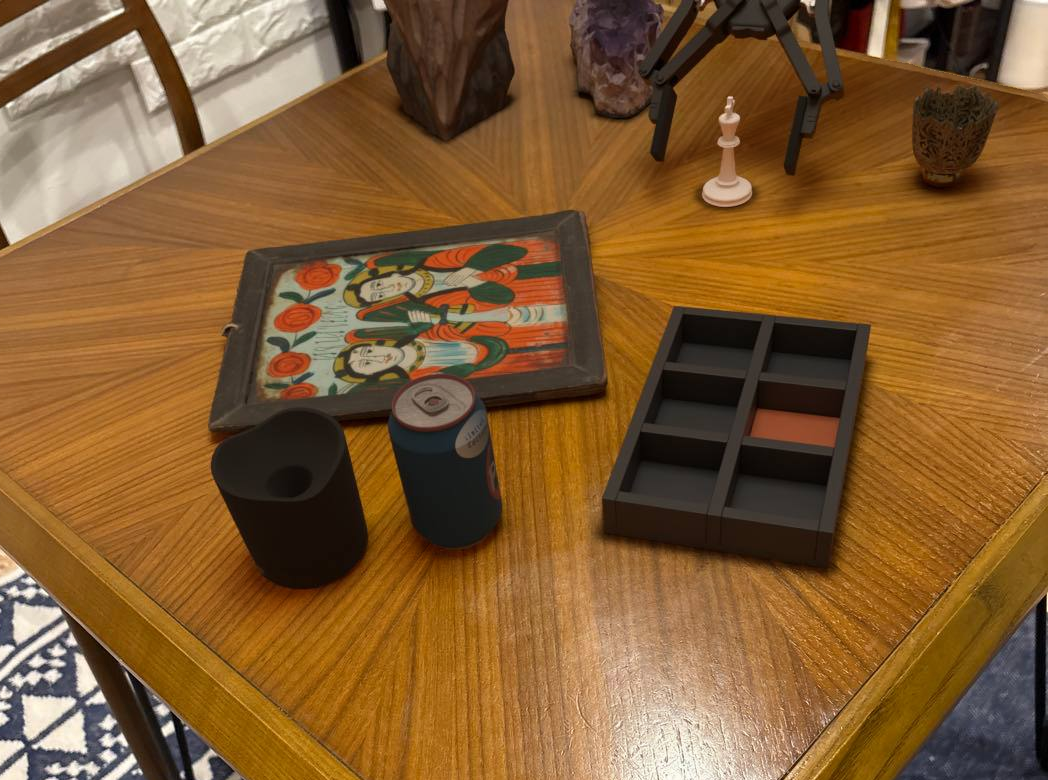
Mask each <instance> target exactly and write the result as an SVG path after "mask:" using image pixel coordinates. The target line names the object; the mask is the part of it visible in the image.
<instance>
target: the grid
mask: <svg viewBox="0 0 1048 780" xmlns="http://www.w3.org/2000/svg"><path fill="white" fill-rule="evenodd" d="M871 329H872V324H870V323H862V322H859V323H858V322H850V321H839V320H829V319H819V318H810V317H809V318H808V317H807V318H806V317H798V316H797V317H796V316H787V315H776V314H766V313H765V314H764V313H756V312H747V311H737V310H736V311H735V310H724V309H714V308H703V307H692V306H681V305H674V306H673V307H672V310H671V313H670V315H669V318H668V321H667V324H666V326H665V329H664V331H663V335H662V337H661V340H660V343H659V345H658V348H657V350H656V353H655V355H654V359H653V361H652V364H651V366H650V369H649V371H648V374H647V377H646V379H645V382H644V385H643V388H642V390H641V392H640V396H639V399H638V401H637V404H636V406H635V408H634V411H633V414H632V416H631V418H630V419H631V420H630V422H629V424H628V427H627V431H626V433H625V436H624V438H623V440H622V444H621V445H620V449H619V451H618V455H617V457H616V460H615V462H614V465H613V468H612V471H611V473H610V476H609V479H608V481H607V483H606V486H605V489H604V491H603V494H602V497H601V507H602V518H603V519H602V520H603V521H602V522H603V532H604V534H610V535H616V536H623V537H629V538H633V539H634V538H635V539H641V540H648V541H654V542H661V543H665V544H672V545H679V546H685V547H691V548H698V549H705V550H710V551H716V552H722V553H728V554H734V555H741V556H747V557H754V558H761V559H766V560H772V561H778V562H779V561H780V562H786V563H793V564H797V565H804V566H811V567H818V568H823V569H829V567H830V562H831V556H832V550H833V544H834V539H835V533H836V529H837V528H836V527H837V523H838V516H839V513H840V512H839V511H840V505H841V502H842V501H841V500H842V496H843V489H844V483H845V478H846V473H847V467H848V462H849V457H850V450H851V445H852V440H853V434H854V428H855V422H856V418H857V412H858V406H859V401H860V395H861V389H862V385H863V378H864V372H865V367H866V362H867V356H868V355H867V354H868V349H869V342H870V336H871V335H870V334H871Z"/></svg>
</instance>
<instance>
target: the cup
mask: <svg viewBox="0 0 1048 780" xmlns="http://www.w3.org/2000/svg"><path fill="white" fill-rule="evenodd" d="M991 100H992V99H991V93H990V92H989V91H988V92H986V94H985V95H983V93H982V90H981V89H979V88H978V86H976V85H972V86H970V87H968V88H965V87H964V85H961V84H958V85H957V86H956V87H955V88H954V91H953V92H945V93H943V92H942V88H941V86H940V85H939V86H937V87H936V88H935V90H934V89H933V88H931V87H929V86H928V87H926V89H925V90H924V91H923V93H922V95H921V94H920V93H918V94H917V95H916V98H915V100H913V105H912V129H911V132H912V133H911V145H912V152H913V156H914V158H915V161H916V162H917V164H918V165H919V166H920V167H921V168H923V170H922V177H923V180H924V181H925V183H927V184H928V185H929V186H931V187H935V188H950V187H953V186H954V185H955V186H956V185H957V184H958V183H959V182H960V181H961V179H962V177H963V175H964V171H966V170H968V169H969V168H970V167H972V166H973V165H974V164H975V163H976V162H977V161H978V159H980V157H981V155H982V153H983V151H984V149H985V146H986V143H987V141H988V138H989V137H990V133H991V130H992V127H993V124H994V121H995V118H996V115H997V112H998V109H999V105H1000V103H999V102H998V103H997V101H998V98H997V97H994V99H993V100H992V101H991Z"/></svg>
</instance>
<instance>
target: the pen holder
mask: <svg viewBox="0 0 1048 780" xmlns="http://www.w3.org/2000/svg"><path fill="white" fill-rule="evenodd" d="M210 473H211V475H212V479H213V481H214V482H215V485H216V487H217V489H218V491H219V493H220V496H221V497H222V500H223V501H224V503H225V506H226V508H227V510H228V512H229V515H230V516H231V518H232V520H233V522H234V524H235V526H236V529H237V531H238V533H239V535H240V537H241V539H242V541H243V543H244V545H245V547H246V549H247V551H248V552H249V555H250V557H251V558H252V561H253V562H254V564H255V566H256V568H257V570H258V571H259V574H261V575H262V577H264V578H265V579H266V580H267V581H268V582H270V583H272V584H274V585H276V586H279V587H281V588H285V589H289V590H298V591H299V590H302V591H305V590H313V589H317V588H318V589H319V588H321V587H325V586H327V585H331V584H332V583H334V582H336V581H338V580H340V579H341V578H342V579H343V577H345V576H346V575H348V574H349V573H350V572H351V571H352V570H353V569H354V568H355V567H356V566H357V565H358V564H359V563H360V561H361V560H362V557H363V556H364V554H365V553H366V550H367V547H368V544H369V543H368V541H369V534H368V527H367V521H366V516H365V511H364V507H363V504H362V499H361V494H360V491H359V486H358V483H357V478H356V474H355V470H354V466H353V462H352V458H351V454H350V450H349V446H348V441H347V437H346V434H345V430H344V428H343V427H342V425H341V423H339V421H337V420H335V419H334V418H333V417H332V416H330V415H328V414H327V413H324V412H322V411H319V410H316V409H311V408H304V407H296V408H289V409H285V410H282V411H280V412H278V413H276V414H274V415H272V416H271V417H269V418H268V419H266V420H265V421H263V422H261V423H260V424H258V425H257V426H255V427H253V428H251V429H249V430H246V431H243V432H237V433H235V434H233V435H231V436H228V437H227V438H225V439H223V440H222V441H221V442H220V443H219V444H218V445H217V446H216V447H215V448H214V450H213V453H212V456H211V459H210Z"/></svg>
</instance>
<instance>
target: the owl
mask: <svg viewBox="0 0 1048 780" xmlns="http://www.w3.org/2000/svg"><path fill="white" fill-rule="evenodd" d="M509 1H510V0H382V2H383V4H384V6H385V8H386V10H387V12H388V14H389V16H390V18H391V23H390V24H389V37H388V39H387V41H388V42H387V53H386V67H387V70H388V72H389V75H390V77H391V80H392V82H393V85H394V87H395V89H396V92H397V94H398V96H399V98H400V100H401V103H402V106H403V108H402V109H403V110H402V111H403V112H404V113H406V114H407V115H408V116H410V117H413V118H414V121H415V122H417V123H420V124H421V125H422V126H423V127H426V130H427V131H428V133H430V134H432V135H435V136H436V137H438V138H440V139H441V140H442V141H445V142H447V141H450V140H451V139H452V138H454V137H456V136H458V135H459V134H461V133H462V132H464V131H466V130H468V129H470V128H472V127H473V126H474V125H476V124H477V123H479V122H480V121H481V122H482V121H484V120H486V119H488V118H489V117H490V116H491V115H492V114H494V113H496V112H498V111H501V110H503V109H504V108H506V107H507V106H508V104H509V103H510V102H511V98H510V97H509V96H508V92H509V88H510V86H511V83H512V80H513V78H514V76H515V75H516V69H515V64H514V61H513V57H512V53H511V49H510V42H509V39H508V37H507V33H506V16H507V10H508V6H509Z"/></svg>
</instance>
